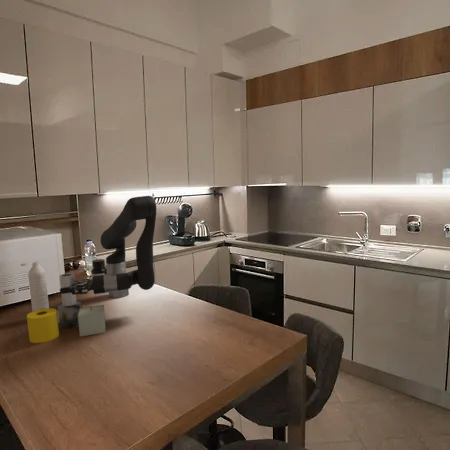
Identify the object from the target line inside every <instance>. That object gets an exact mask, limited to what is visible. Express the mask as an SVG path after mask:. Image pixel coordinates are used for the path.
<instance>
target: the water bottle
mask: <svg viewBox="0 0 450 450" xmlns="http://www.w3.org/2000/svg"><path fill="white" fill-rule="evenodd" d="M31 265H32V266H31V268H30V269H29V271H28V274H27V276H28V283H29V284H28V285H29V294H30V301H31V302H30V303H31V309H32V311H31V312H33V311H36V310H39V309H45V308H50V307H49V306H50V303H49V295H48V287H47V286H48V284H47V277H46V270H45V269H44V268H43V267H42V266H41V265H40V262H39V261H32V264H31ZM20 266H21V267H25V266H28V262H26V261H25V262H21V263H20Z"/></svg>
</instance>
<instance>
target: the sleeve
mask: <svg viewBox="0 0 450 450" xmlns="http://www.w3.org/2000/svg"><path fill="white" fill-rule="evenodd" d="M58 277H59V285H60V287H59V288H66V287H73V286H75V281H76V280H75V273H74V272H73V273H72V272H69V273H62V274H60V275H59V276H58ZM75 291H76V290H75ZM60 295H61V304H62V305H63V306H71V305H74V304H76V303H77V300H78V297H77V294H74V295H72V293H71V292H70V293H65V294H60Z"/></svg>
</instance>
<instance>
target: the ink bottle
mask: <svg viewBox="0 0 450 450" xmlns="http://www.w3.org/2000/svg"><path fill="white" fill-rule="evenodd" d="M91 262H92V269H91V271H90V273H91V281H93V276H98V275H106V274H107V266H106V259H103V258H97V259H94V260H92V261H91Z"/></svg>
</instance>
